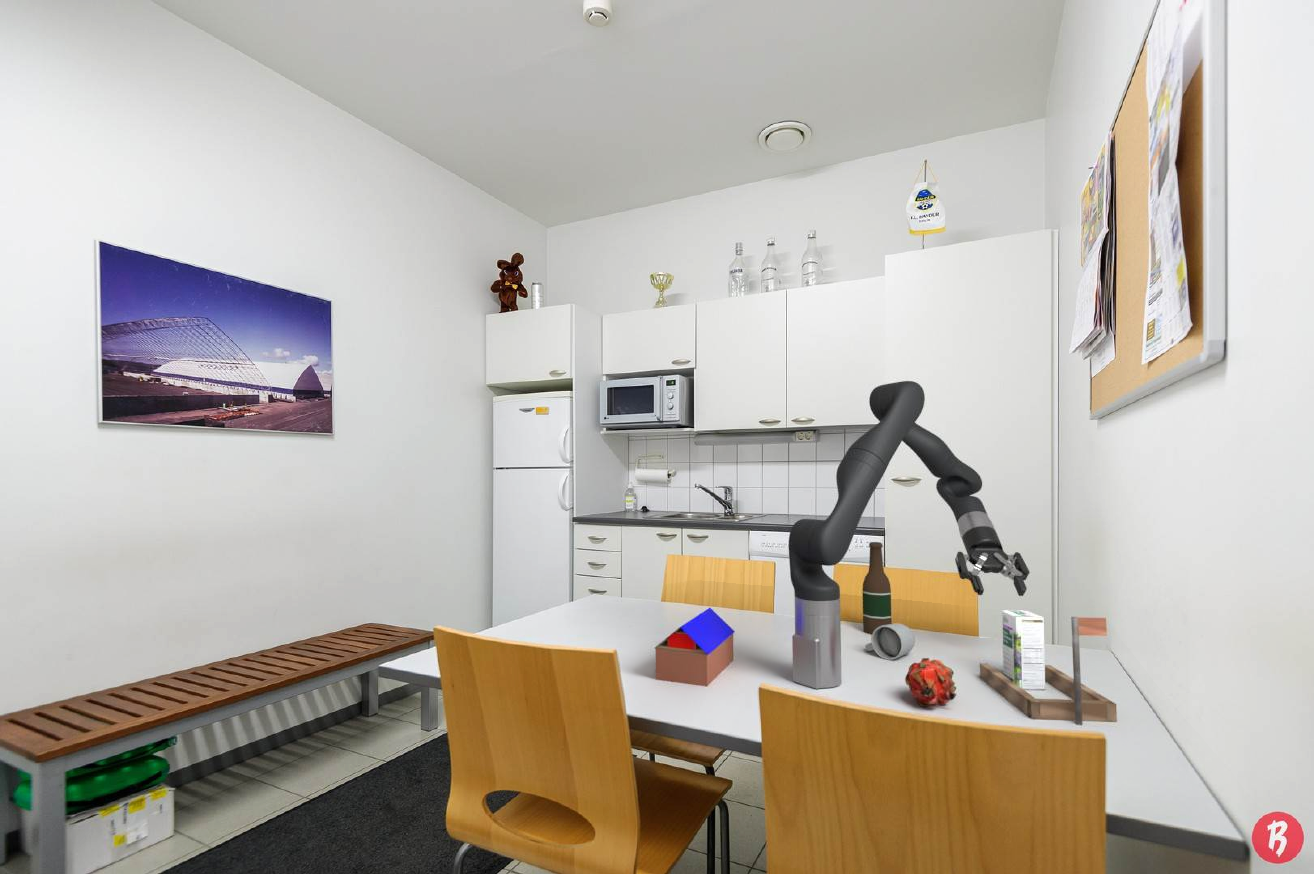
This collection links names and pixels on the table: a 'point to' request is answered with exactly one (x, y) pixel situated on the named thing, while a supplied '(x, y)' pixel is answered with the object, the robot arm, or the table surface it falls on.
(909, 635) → the ceramic mug
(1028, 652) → the syrup box
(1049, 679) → the wooden frame with flag
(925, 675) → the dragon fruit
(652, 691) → the table surface
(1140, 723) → the table surface
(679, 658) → the house
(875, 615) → the beer bottle
